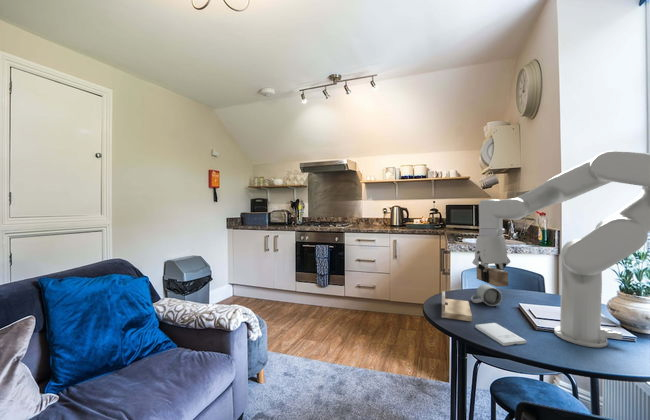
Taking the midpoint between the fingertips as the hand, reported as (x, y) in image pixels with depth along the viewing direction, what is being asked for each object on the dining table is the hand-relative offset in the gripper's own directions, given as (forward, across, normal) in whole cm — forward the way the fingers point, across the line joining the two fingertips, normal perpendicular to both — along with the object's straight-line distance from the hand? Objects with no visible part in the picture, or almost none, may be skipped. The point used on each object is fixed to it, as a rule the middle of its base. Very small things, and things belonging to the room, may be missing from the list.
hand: (491, 280), depth 104 cm
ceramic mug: (+14, -8, -15) cm, 22 cm away
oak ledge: (+14, +9, -8) cm, 18 cm away
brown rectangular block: (+1, 0, 0) cm, 1 cm away
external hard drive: (+15, +6, +12) cm, 20 cm away
